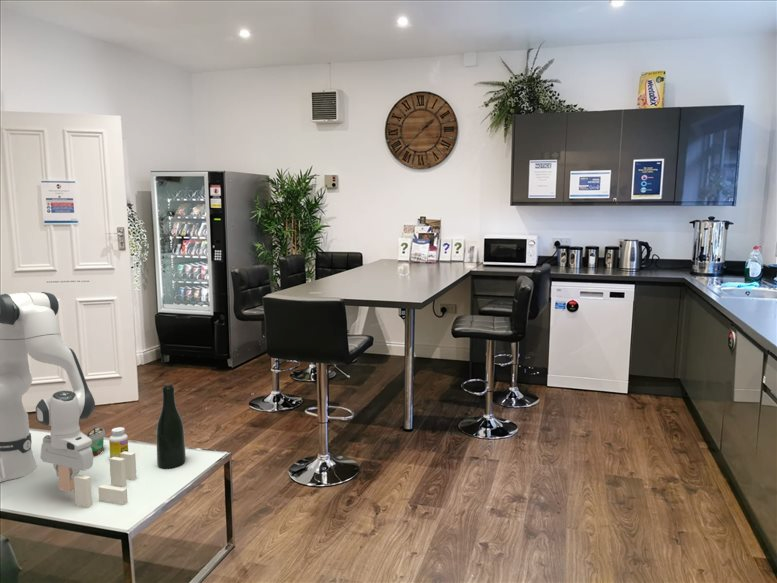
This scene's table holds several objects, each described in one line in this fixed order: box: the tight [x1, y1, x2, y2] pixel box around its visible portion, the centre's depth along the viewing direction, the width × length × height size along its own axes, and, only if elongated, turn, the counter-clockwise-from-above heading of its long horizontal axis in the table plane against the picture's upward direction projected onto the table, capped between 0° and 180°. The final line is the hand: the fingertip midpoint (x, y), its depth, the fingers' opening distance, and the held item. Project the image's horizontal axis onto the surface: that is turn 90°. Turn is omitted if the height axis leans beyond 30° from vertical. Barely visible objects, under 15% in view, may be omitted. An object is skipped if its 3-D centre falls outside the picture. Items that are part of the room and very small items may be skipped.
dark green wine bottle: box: [155, 382, 187, 470], centre depth 225 cm, size 10×10×33 cm
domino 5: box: [120, 451, 137, 481], centre depth 215 cm, size 2×5×10 cm, turn 72°
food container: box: [86, 425, 106, 458], centre depth 236 cm, size 12×6×10 cm, turn 9°
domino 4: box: [97, 484, 129, 505], centre depth 198 cm, size 2×5×10 cm
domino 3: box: [109, 457, 127, 488], centre depth 210 cm, size 2×5×10 cm, turn 72°
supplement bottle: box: [108, 426, 129, 459], centre depth 231 cm, size 7×7×13 cm
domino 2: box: [74, 474, 93, 508], centre depth 195 cm, size 2×5×10 cm, turn 72°
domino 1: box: [58, 465, 75, 493], centre depth 200 cm, size 2×5×10 cm, turn 70°
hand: (66, 477), depth 200 cm, fingers closed on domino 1, 5 cm apart
